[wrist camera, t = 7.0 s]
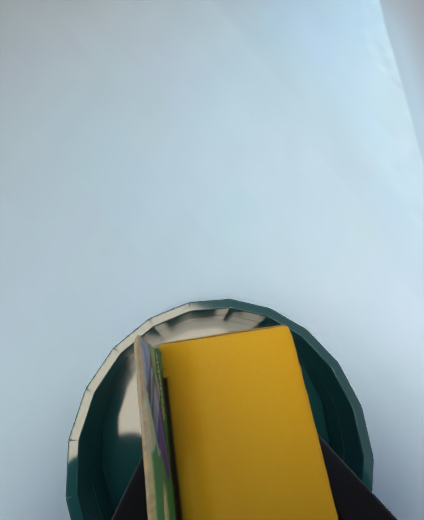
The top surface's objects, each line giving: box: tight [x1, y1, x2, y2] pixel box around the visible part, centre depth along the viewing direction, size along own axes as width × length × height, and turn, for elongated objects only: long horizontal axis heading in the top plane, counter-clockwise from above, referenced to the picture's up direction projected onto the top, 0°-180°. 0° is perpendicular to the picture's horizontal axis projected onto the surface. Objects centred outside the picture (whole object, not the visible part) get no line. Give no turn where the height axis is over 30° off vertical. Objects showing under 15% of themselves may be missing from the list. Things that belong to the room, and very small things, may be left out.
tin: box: [66, 299, 373, 520], centre depth 13 cm, size 11×11×4 cm
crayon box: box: [134, 325, 338, 520], centre depth 9 cm, size 7×3×12 cm, turn 9°
